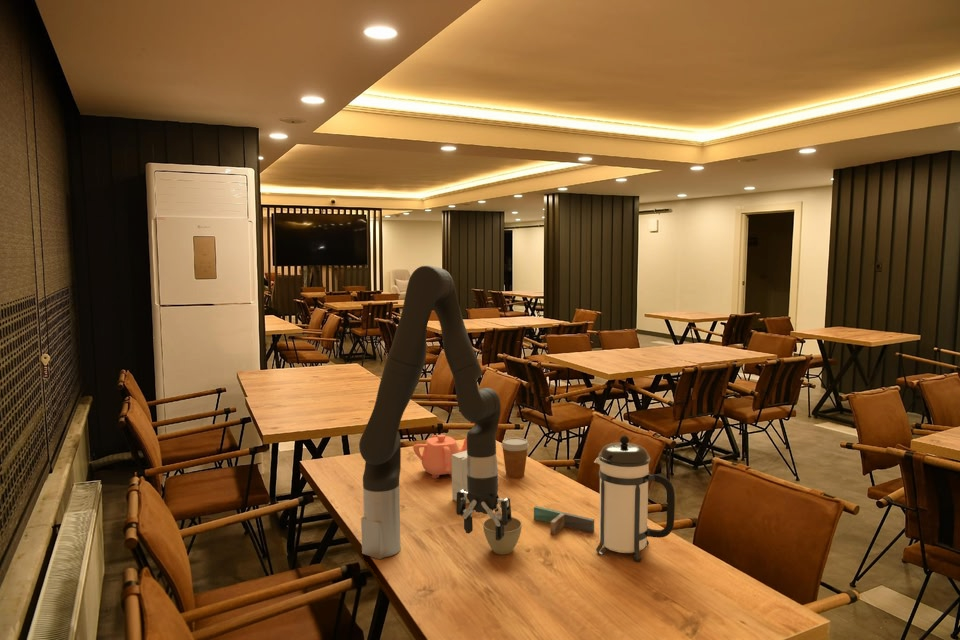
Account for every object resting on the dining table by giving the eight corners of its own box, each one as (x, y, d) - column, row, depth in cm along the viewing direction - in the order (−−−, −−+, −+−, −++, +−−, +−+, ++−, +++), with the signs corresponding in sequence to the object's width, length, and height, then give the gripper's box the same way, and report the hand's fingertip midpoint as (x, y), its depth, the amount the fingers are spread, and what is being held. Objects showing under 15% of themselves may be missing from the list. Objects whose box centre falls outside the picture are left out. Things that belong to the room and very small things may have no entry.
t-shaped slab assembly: (583, 542, 168) (583, 529, 168) (523, 527, 178) (523, 515, 177) (594, 531, 175) (594, 519, 174) (535, 517, 184) (535, 505, 184)
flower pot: (498, 538, 171) (498, 512, 170) (529, 548, 165) (529, 522, 164) (475, 551, 163) (474, 524, 163) (506, 563, 157) (506, 535, 156)
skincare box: (472, 493, 203) (471, 448, 202) (484, 498, 199) (483, 452, 197) (450, 500, 198) (450, 453, 197) (462, 505, 193) (462, 458, 192)
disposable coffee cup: (496, 472, 222) (496, 439, 221) (520, 468, 226) (520, 435, 225) (509, 481, 214) (509, 446, 213) (534, 477, 218) (534, 442, 217)
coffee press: (611, 568, 154) (613, 448, 151) (583, 540, 169) (584, 430, 166) (675, 559, 159) (678, 441, 155) (642, 532, 174) (644, 425, 171)
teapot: (433, 462, 234) (432, 426, 232) (474, 469, 227) (474, 432, 225) (410, 476, 219) (410, 438, 218) (454, 484, 212) (454, 444, 211)
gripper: (449, 471, 154) (451, 536, 156) (500, 481, 147) (502, 548, 149) (465, 462, 161) (467, 524, 162) (515, 471, 153) (517, 535, 155)
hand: (484, 535), depth 155 cm, fingers open, 8 cm apart
